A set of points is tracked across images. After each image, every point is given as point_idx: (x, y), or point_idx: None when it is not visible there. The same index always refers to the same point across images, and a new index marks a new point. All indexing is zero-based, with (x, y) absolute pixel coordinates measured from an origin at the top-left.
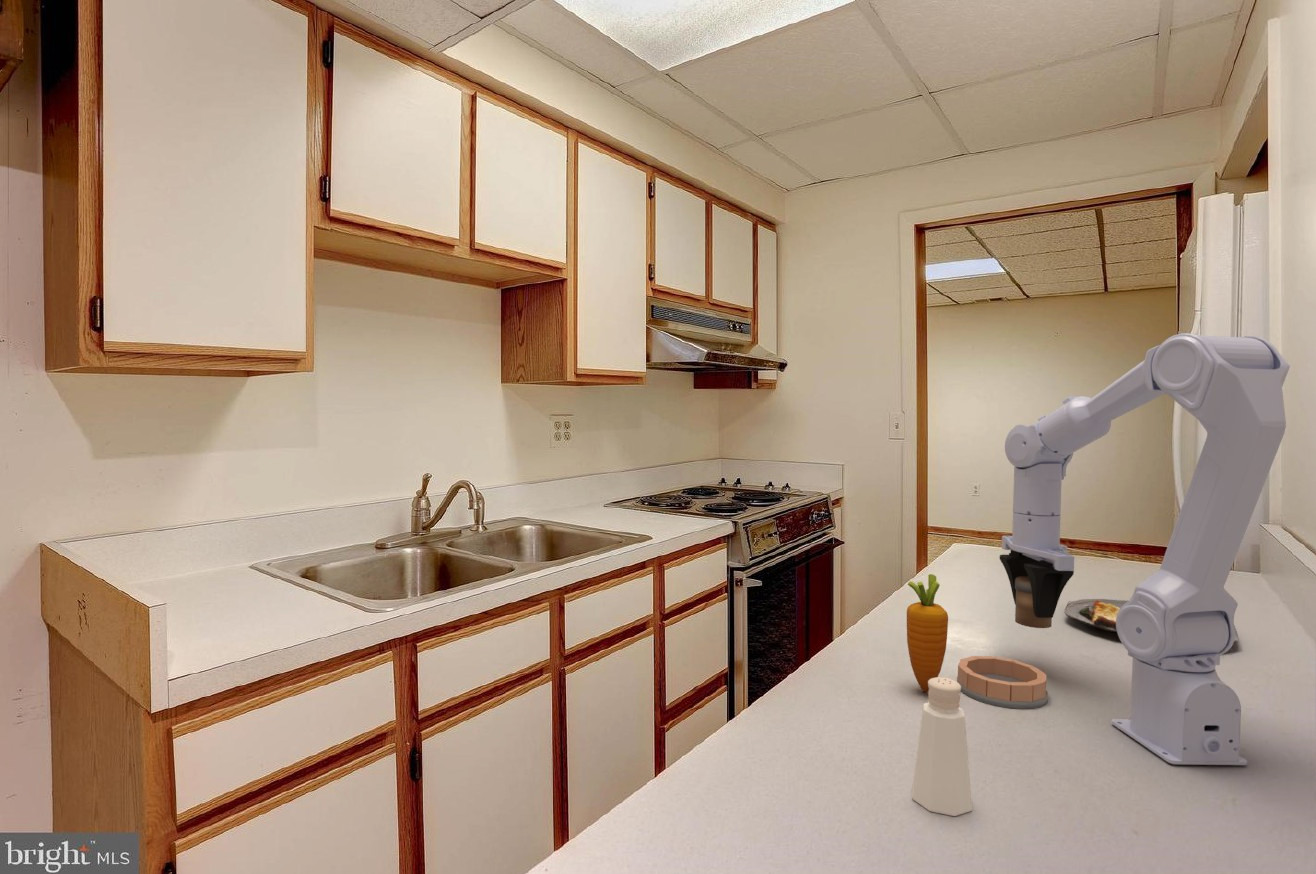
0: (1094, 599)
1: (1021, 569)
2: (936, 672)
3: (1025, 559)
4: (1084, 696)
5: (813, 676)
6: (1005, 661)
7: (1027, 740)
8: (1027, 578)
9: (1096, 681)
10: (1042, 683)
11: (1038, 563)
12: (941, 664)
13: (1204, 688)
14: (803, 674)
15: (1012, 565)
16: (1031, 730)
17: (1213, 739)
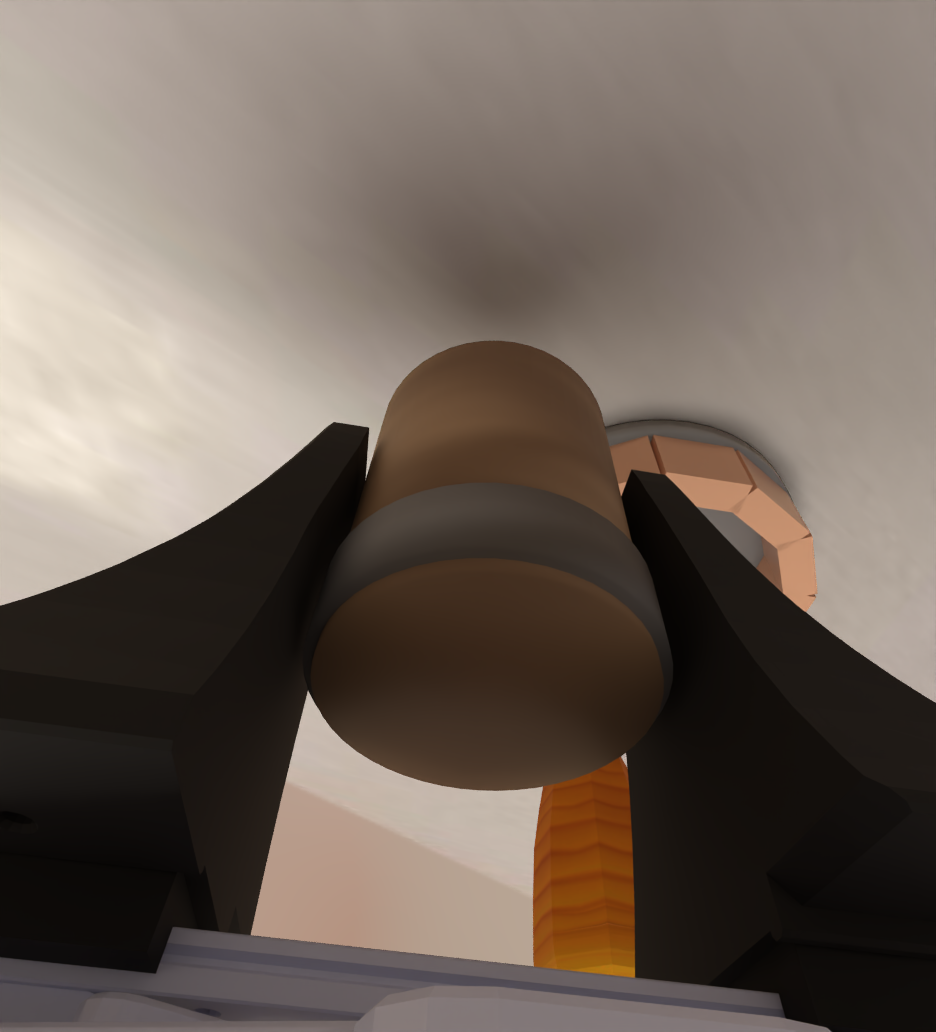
0: None
1: (272, 761)
2: (627, 769)
3: (223, 866)
4: (796, 271)
5: (437, 833)
6: None
7: (922, 659)
8: (410, 710)
9: (676, 13)
10: (811, 549)
11: (229, 703)
12: (626, 778)
13: None
14: (424, 842)
15: (262, 858)
16: (890, 622)
17: None
